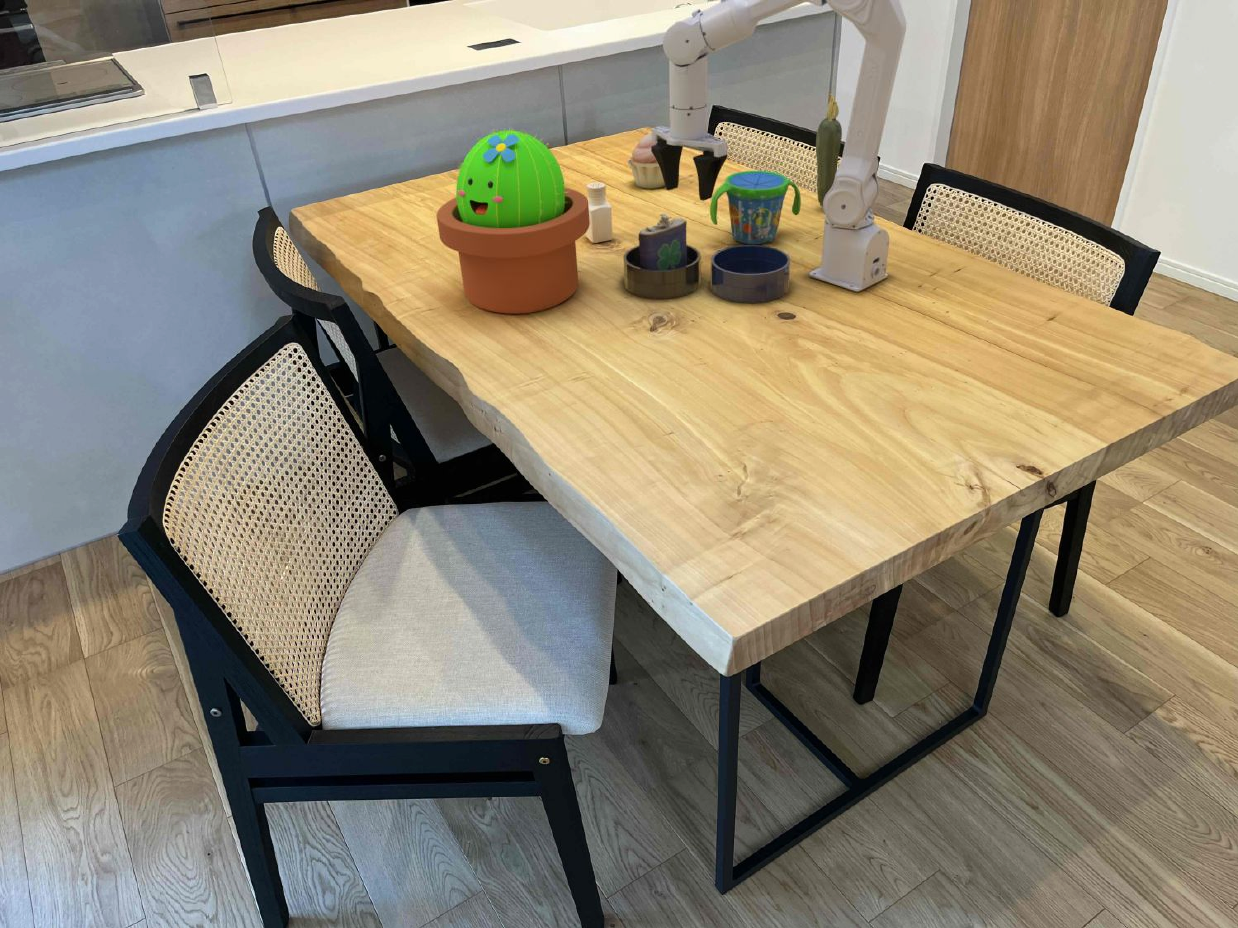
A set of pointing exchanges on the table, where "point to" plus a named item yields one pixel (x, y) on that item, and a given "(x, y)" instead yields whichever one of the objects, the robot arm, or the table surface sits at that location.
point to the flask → (663, 245)
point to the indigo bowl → (750, 273)
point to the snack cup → (755, 204)
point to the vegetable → (828, 149)
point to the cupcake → (646, 165)
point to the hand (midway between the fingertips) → (688, 193)
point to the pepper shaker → (599, 214)
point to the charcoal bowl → (662, 276)
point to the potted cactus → (514, 225)
